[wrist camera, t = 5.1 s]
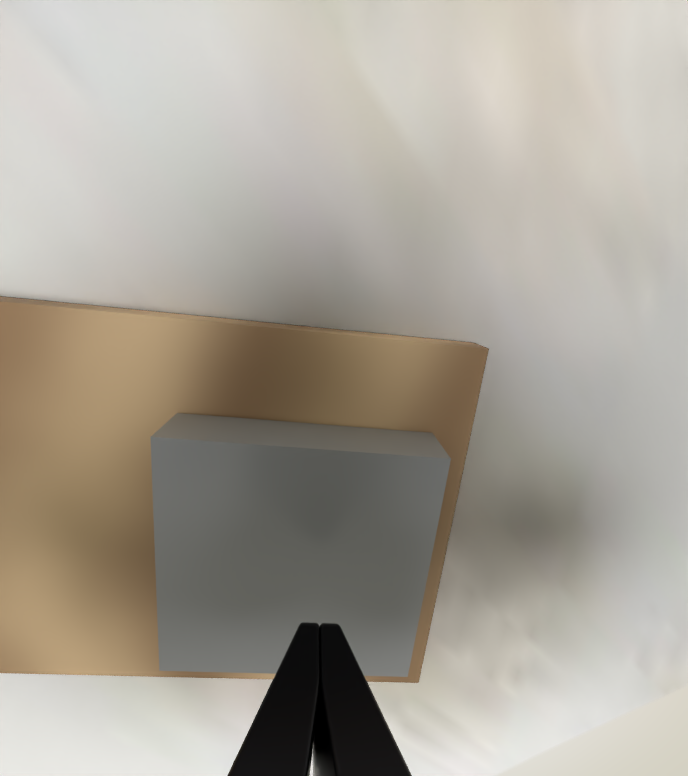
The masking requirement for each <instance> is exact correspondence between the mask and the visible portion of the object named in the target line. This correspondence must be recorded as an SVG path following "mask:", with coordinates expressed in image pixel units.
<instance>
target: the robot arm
mask: <svg viewBox="0 0 688 776" xmlns="http://www.w3.org/2000/svg"><path fill="white" fill-rule="evenodd" d="M312 749H313V776H412V775H411V773H410V771H409V769H408V767H407V765H406V763H405V761H404V759H403V756H402V754H401V752H400V750H399V748H398V746H397V744H396V742H395V740H394V738H393V735H392V733H391V731H390V729H389V727H388V725H387V723H386V721H385V719H384V717H383V714H382V712H381V710H380V708H379V706H378V704H377V702H376V700H375V698H374V696H373V694H372V691H371V689H370V687H369V685H368V683H367V681H366V679H365V677H364V675H363V673H362V670H361V668H360V666H359V664H358V662H357V660H356V658H355V656H354V654H353V652H352V649H351V647H350V645H349V643H348V641H347V639H346V637H345V635H344V633H343V631H342V628H341V627H340V625H339V624H337V623H322V624H321V625H320V627H319V624H318V623H311V622H302V623H300V625H299V626H298V628H297V630H296V632H295V635H294V637H293V639H292V641H291V643H290V645H289V647H288V649H287V651H286V654H285V656H284V658H283V660H282V662H281V664H280V666H279V668H278V670H277V672H276V675H275V677H274V679H273V681H272V683H271V685H270V687H269V689H268V691H267V694H266V696H265V698H264V700H263V702H262V704H261V706H260V708H259V710H258V712H257V715H256V717H255V719H254V721H253V723H252V725H251V727H250V729H249V731H248V734H247V736H246V738H245V740H244V742H243V744H242V746H241V748H240V750H239V752H238V755H237V757H236V759H235V761H234V763H233V765H232V767H231V769H230V771H229V774H228V776H309V775H310V766H311V758H312Z"/></svg>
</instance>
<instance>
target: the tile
mask: <svg viewBox="0 0 688 776" xmlns="http://www.w3.org/2000/svg"><path fill="white" fill-rule="evenodd" d="M150 438H151V465H152V491H153V517H154V543H155V570H156V596H157V622H158V648H159V671H189V672H229V673H270V674H276V672H277V670H278V668H279V666H280V664H281V662H282V660H283V658H284V656H285V654H286V651H287V649H288V647H289V645H290V643H291V641H292V639H293V637H294V635H295V632H296V630H297V628H298V626H299V625H300V623H302V622H311V623H318V624H319V627H320V625H321V624H322V623H337V624H339V625H340V627H341V628H342V631H343V633H344V635H345V637H346V639H347V641H348V643H349V645H350V647H351V649H352V652H353V654H354V656H355V658H356V660H357V662H358V664H359V666H360V668H361V670H362V673H363V675H364V676H393V677H408V673H409V668H410V663H411V658H412V652H413V647H414V642H415V637H416V632H417V627H418V622H419V617H420V612H421V607H422V602H423V597H424V592H425V587H426V582H427V577H428V572H429V567H430V562H431V557H432V552H433V547H434V542H435V537H436V532H437V527H438V522H439V517H440V512H441V507H442V502H443V497H444V492H445V487H446V481H447V476H448V471H449V466H450V461H451V458H450V457H449V455H448V454H447V452H446V451H445V450H444V448H443V447H442V445H441V444H440V443H439V441H438V440H437V438H436V437H435V436H434V434H433V433H429V432H416V431H403V430H390V429H377V428H364V427H351V426H339V425H326V424H313V423H300V422H287V421H274V420H261V419H249V418H236V417H223V416H210V415H197V414H184V413H176V414H175V415H174V416H173V417H172V418H171V419H170V420H169V421H168V422H166V423H165V424H164V425H163V426H162V427H161V428H160V429H159V430H158V431H156V432H155V433H154V434H153V435H152V436H151V437H150Z"/></svg>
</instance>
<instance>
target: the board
mask: <svg viewBox="0 0 688 776" xmlns="http://www.w3.org/2000/svg"><path fill="white" fill-rule="evenodd" d="M488 350H489V349H488V348H486V347H483V346H481V345H478V344H476V343H471V342H460V341H450V340H440V339H430V338H420V337H409V336H399V335H389V334H379V333H369V332H359V331H348V330H338V329H328V328H318V327H308V326H298V325H287V324H277V323H267V322H257V321H247V320H237V319H226V318H216V317H206V316H196V315H186V314H175V313H165V312H155V311H145V310H135V309H125V308H114V307H104V306H94V305H84V304H74V303H64V302H53V301H43V300H33V299H23V298H13V297H2V296H0V673H24V674H67V675H110V676H153V677H196V678H239V679H274V677H275V675H276V674H270V673H229V672H189V671H159V648H158V622H157V596H156V570H155V543H154V517H153V491H152V465H151V438H150V437H151V436H152V435H153V434H154V433H155V432H156V431H158V430H159V429H160V428H161V427H162V426H163V425H164V424H165V423H166V422H168V421H169V420H170V419H171V418H172V417H173V416H174V415H175V414H176V413H184V414H197V415H210V416H223V417H236V418H249V419H261V420H274V421H287V422H300V423H313V424H326V425H339V426H351V427H364V428H377V429H390V430H403V431H416V432H429V433H433V434H434V436H435V437H436V438H437V440H438V441H439V443H440V444H441V445H442V447H443V448H444V450H445V451H446V452H447V454H448V455H449V457H450V458H451V461H450V466H449V471H448V476H447V481H446V487H445V492H444V497H443V502H442V507H441V512H440V517H439V522H438V527H437V532H436V537H435V542H434V547H433V552H432V557H431V562H430V567H429V572H428V577H427V582H426V587H425V592H424V597H423V602H422V607H421V612H420V617H419V622H418V627H417V632H416V637H415V642H414V647H413V652H412V658H411V663H410V668H409V673H408V677H393V676H364V677H365V679H366V681H368V682H411V683H419V678H420V673H421V668H422V664H423V659H424V654H425V649H426V645H427V640H428V635H429V630H430V626H431V621H432V616H433V611H434V607H435V602H436V597H437V592H438V588H439V583H440V578H441V573H442V569H443V564H444V559H445V554H446V550H447V545H448V540H449V535H450V531H451V526H452V521H453V516H454V512H455V507H456V502H457V497H458V493H459V488H460V483H461V478H462V474H463V469H464V464H465V459H466V455H467V450H468V445H469V440H470V436H471V431H472V426H473V421H474V417H475V412H476V407H477V402H478V397H479V393H480V388H481V383H482V378H483V374H484V369H485V364H486V359H487V355H488Z"/></svg>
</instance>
